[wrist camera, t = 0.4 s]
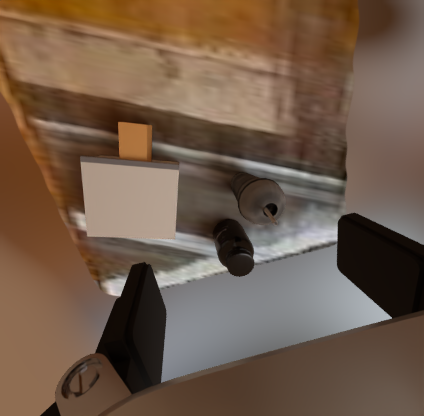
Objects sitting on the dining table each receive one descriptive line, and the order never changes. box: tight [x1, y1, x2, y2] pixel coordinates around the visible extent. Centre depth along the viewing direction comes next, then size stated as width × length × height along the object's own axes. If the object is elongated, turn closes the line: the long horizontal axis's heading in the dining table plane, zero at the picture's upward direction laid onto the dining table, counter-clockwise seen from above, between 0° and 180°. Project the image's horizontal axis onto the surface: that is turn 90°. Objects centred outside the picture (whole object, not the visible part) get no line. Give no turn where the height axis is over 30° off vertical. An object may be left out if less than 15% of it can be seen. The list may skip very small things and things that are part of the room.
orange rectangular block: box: [118, 122, 152, 162], centre depth 36 cm, size 4×12×6 cm, turn 174°
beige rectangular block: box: [80, 155, 179, 239], centre depth 38 cm, size 14×13×8 cm
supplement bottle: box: [213, 220, 254, 277], centre depth 42 cm, size 7×7×12 cm
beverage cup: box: [231, 173, 286, 225], centre depth 35 cm, size 7×7×20 cm
